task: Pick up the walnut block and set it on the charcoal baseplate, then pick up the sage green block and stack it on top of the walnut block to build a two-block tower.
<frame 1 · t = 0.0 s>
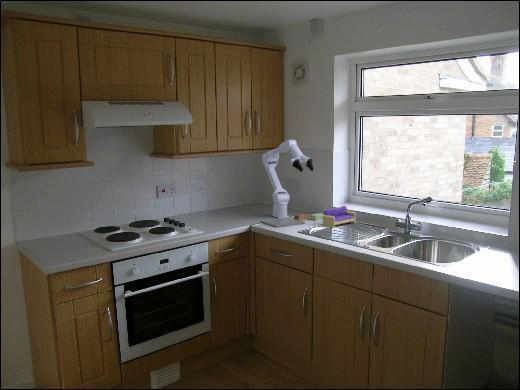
hand: (307, 170, 266), 32 cm above the worktop, tool tilted 50°, fingers open, 7 cm apart
sage block: (318, 220, 285), on the worktop
walnut block: (301, 220, 285), on the worktop
baseplate: (282, 223, 275), on the worktop
toy sofa: (339, 225, 269), on the worktop
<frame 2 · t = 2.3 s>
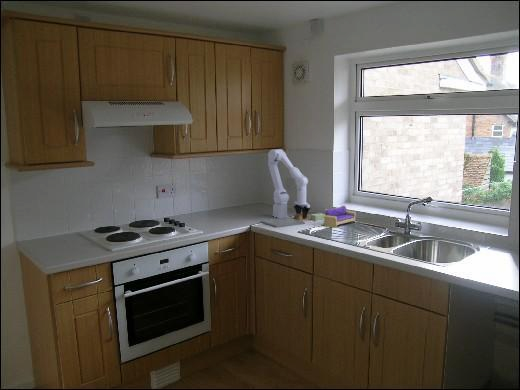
hand: (301, 217, 285), 1 cm above the worktop, tool pointing down, fingers closed on walnut block, 6 cm apart
walnut block: (301, 220, 285), on the worktop, touching gripper
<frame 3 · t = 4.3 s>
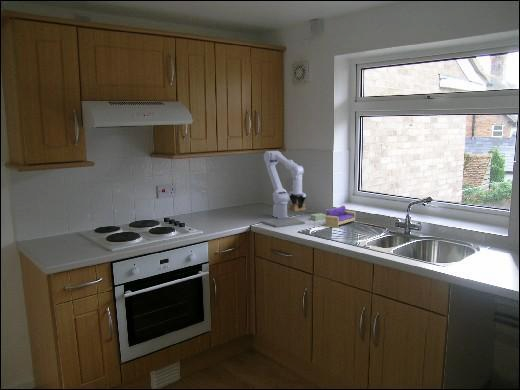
hand: (297, 207, 281), 8 cm above the worktop, tool pointing down, fingers closed on walnut block, 5 cm apart
walnut block: (297, 209, 281), point 7 cm above the worktop, touching gripper
when the fingers open (4 cm above the worktop, at t = 6.4 s): walnut block stays where it is, resting on baseplate.
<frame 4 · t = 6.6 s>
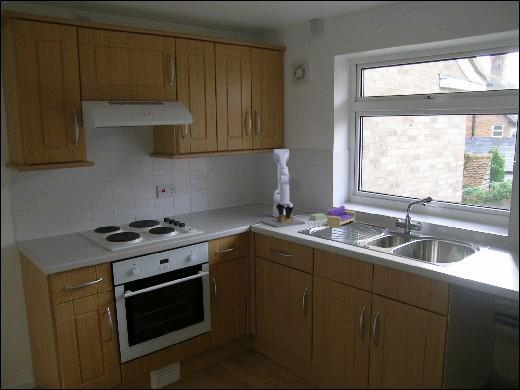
hand: (284, 217, 274), 4 cm above the worktop, tool pointing down, fingers open, 7 cm apart
walnut block: (285, 221, 275), point 1 cm above the worktop, touching baseplate
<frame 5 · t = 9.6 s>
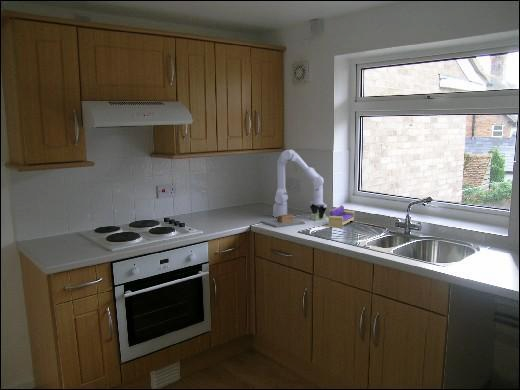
hand: (318, 217, 285), 1 cm above the worktop, tool pointing down, fingers closed on sage block, 5 cm apart
sage block: (318, 219, 285), on the worktop, touching gripper
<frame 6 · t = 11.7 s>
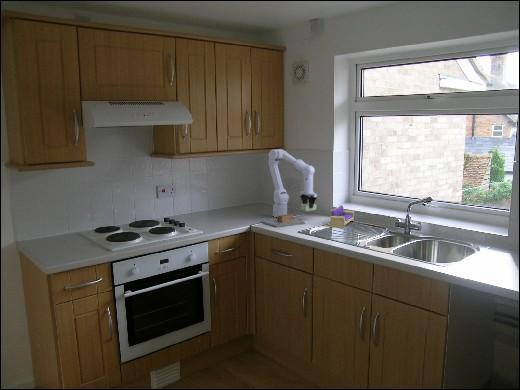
hand: (308, 207, 281), 8 cm above the worktop, tool pointing down, fingers closed on sage block, 5 cm apart
sage block: (308, 209, 281), point 7 cm above the worktop, touching gripper
when the fingers open (7 cm above the worktop, at t = 13.6 s): sage block stays where it is, resting on walnut block.
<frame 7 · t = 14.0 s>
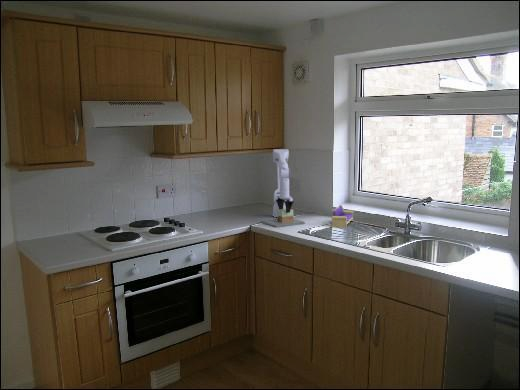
hand: (284, 211, 274), 7 cm above the worktop, tool pointing down, fingers open, 7 cm apart
sage block: (285, 215, 274), point 5 cm above the worktop, touching walnut block
walnut block: (285, 221, 275), point 1 cm above the worktop, touching baseplate, sage block
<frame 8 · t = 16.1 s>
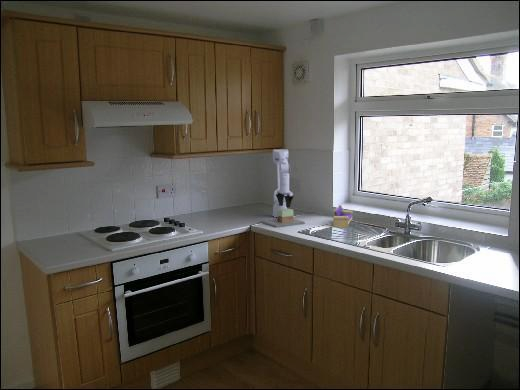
hand: (284, 206, 273), 10 cm above the worktop, tool pointing down, fingers open, 7 cm apart
at the end: walnut block inside the target area (0.5 cm from its centre), point 1.2 cm above the worktop; sage block 0.0 cm off-centre on the walnut block, point 3.5 cm above the walnut block's base; sage block tilted 0° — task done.
